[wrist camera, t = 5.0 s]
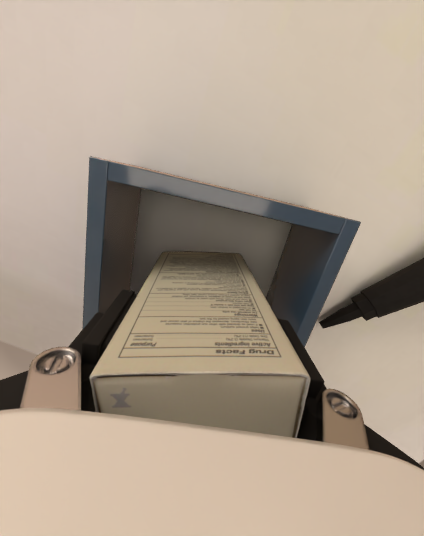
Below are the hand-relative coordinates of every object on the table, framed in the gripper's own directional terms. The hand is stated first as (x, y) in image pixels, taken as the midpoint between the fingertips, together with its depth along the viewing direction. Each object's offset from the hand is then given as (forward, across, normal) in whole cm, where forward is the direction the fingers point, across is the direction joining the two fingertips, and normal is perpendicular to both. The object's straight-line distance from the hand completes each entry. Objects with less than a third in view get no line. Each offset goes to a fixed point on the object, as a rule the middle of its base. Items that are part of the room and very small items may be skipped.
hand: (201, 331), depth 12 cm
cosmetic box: (+7, 0, 0) cm, 7 cm away
